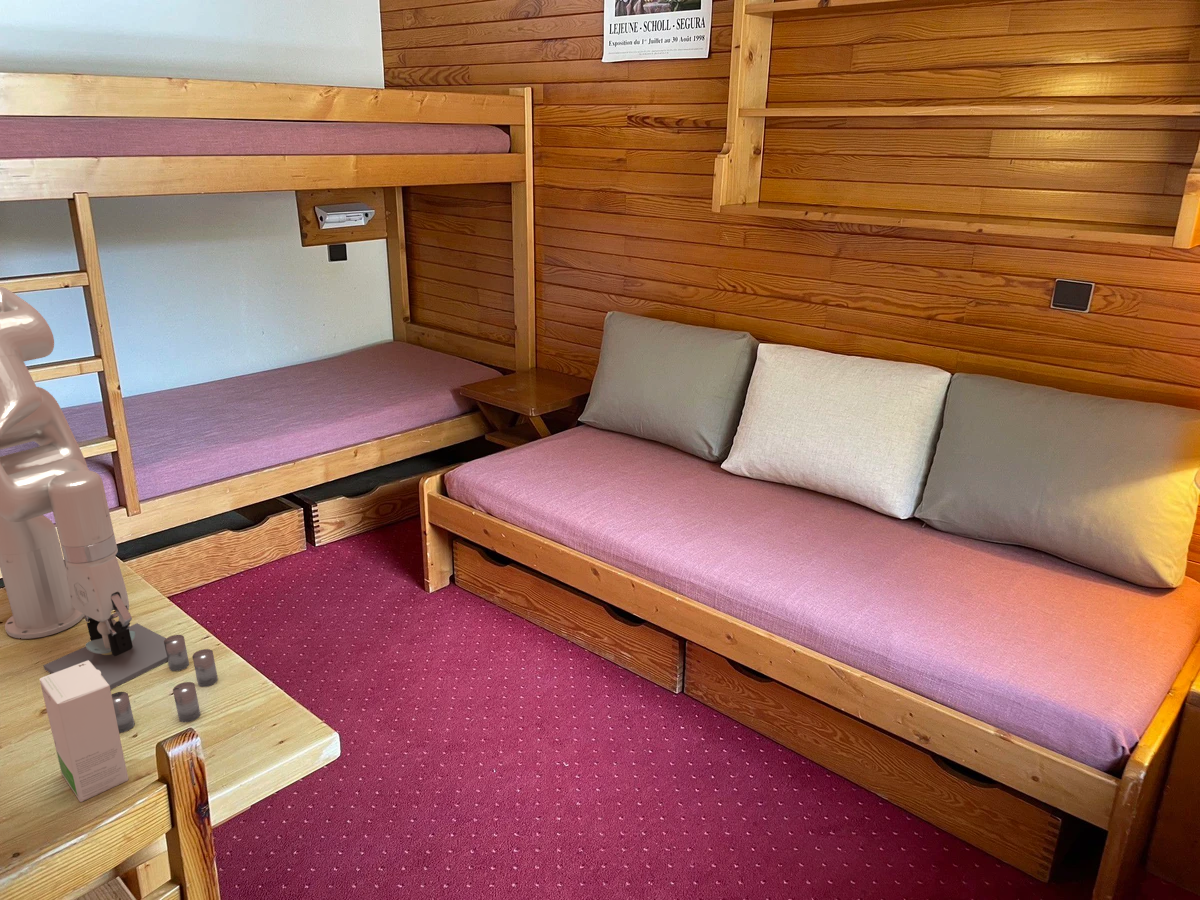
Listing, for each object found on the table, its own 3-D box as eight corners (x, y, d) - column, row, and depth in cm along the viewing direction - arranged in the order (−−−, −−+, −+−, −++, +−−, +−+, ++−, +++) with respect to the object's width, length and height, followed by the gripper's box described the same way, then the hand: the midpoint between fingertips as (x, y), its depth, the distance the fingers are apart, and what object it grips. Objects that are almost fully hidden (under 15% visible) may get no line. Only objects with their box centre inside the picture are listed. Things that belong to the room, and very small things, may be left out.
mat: (44, 669, 150) (43, 665, 150) (137, 627, 162) (136, 623, 162) (91, 699, 142) (90, 694, 141) (186, 652, 154) (185, 648, 154)
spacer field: (80, 710, 139) (73, 682, 137) (182, 659, 152) (177, 632, 150) (141, 750, 130) (134, 720, 128) (244, 691, 143) (239, 664, 141)
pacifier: (87, 647, 153) (89, 663, 148) (79, 614, 151) (81, 629, 146) (135, 635, 156) (139, 650, 151) (128, 602, 154) (131, 616, 149)
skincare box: (61, 774, 125) (35, 677, 120) (112, 752, 129) (89, 657, 124) (80, 804, 119) (54, 704, 114) (133, 780, 124) (110, 682, 118)
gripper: (38, 543, 147) (63, 641, 153) (94, 570, 137) (117, 673, 143) (85, 527, 152) (107, 621, 159) (141, 551, 143) (162, 651, 149)
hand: (112, 645), depth 151 cm, fingers closed on pacifier, 5 cm apart
